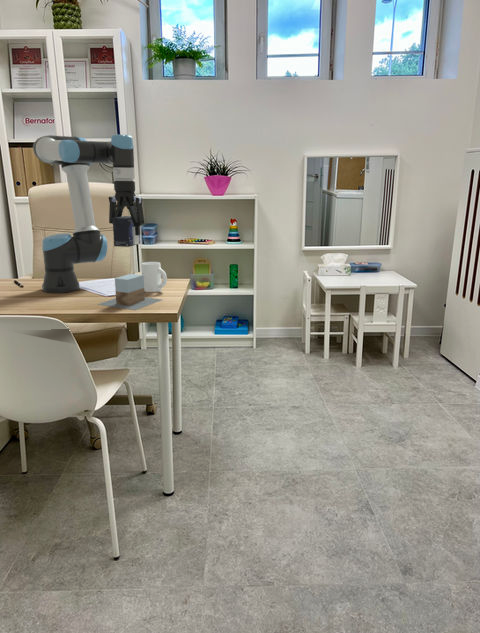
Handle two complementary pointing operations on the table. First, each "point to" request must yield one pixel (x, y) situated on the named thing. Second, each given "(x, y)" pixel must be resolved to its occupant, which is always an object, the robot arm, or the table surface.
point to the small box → (123, 231)
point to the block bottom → (130, 297)
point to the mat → (132, 307)
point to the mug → (153, 276)
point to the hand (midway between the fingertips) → (127, 243)
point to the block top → (129, 283)
